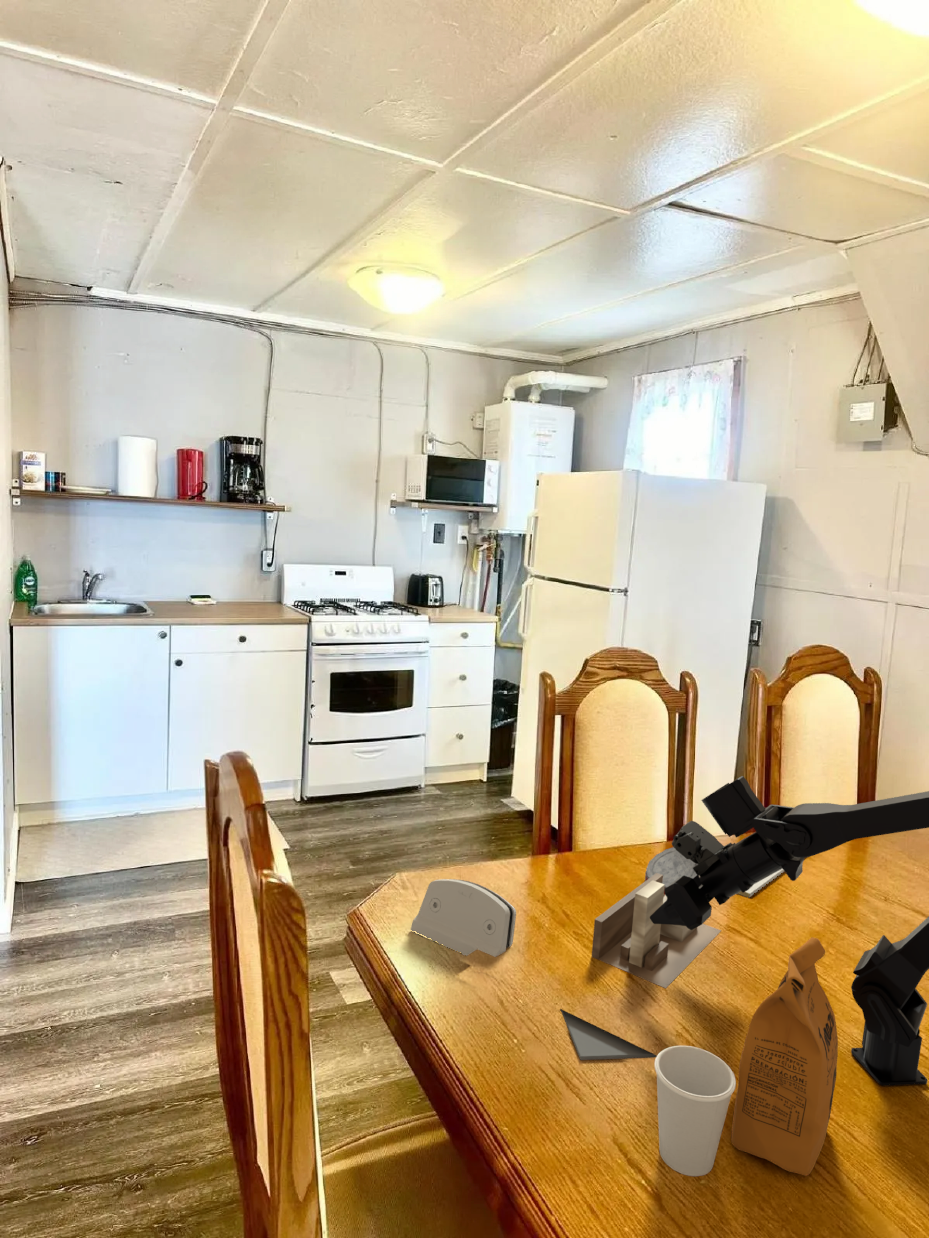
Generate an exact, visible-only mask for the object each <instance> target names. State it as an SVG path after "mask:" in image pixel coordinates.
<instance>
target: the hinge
mask: <svg viewBox="0 0 929 1238" xmlns="http://www.w3.org/2000/svg"><path fill="white" fill-rule="evenodd" d="M516 917H517V910H516V908H515V907H514V906H513V905H512V904H511V903H510V902H509V901H508V900H507V899H505V898H503V896H501V895H500V894H499V893H496V892H495V891H493V890H491V889H489V888H487V887H486V886H483V885H480V884H478V883H475V882H473V881H469V880H464V879H455V878H449V879H447V878H444V879H443V878H442V879H435V880H432V881H430V883H429V884H428V886H427V889H426V892H425V894H424V897H423V900H422V902H421V905H420V907H419V910H418V914H417V915H416V916H415V917H414V918H413V920H412V922H411V925H410V926H411V927H410V930H412V931H416V932H417V933H419V934H422V935H424V936H426V937H427V938H431V939H432V940H433V941H437V942H438V943H439V944H438V945H440V944H443V945H444V946H446V947H445V948H447V947H448V948H447V949H449V948H451V949H453V950H455V951H454V952H456V951H458V952H461V953H462V954H461V955H463V956H465V955H466V956H465V957H468V956H469V955H471V954H472V953H474V952H475V951H477V950H478V951H480V952H482V953H485V954H488V955H490V956H492V957H494V958H496V957H498V956H500V955H502V954H504V953H505V952H506V950H507V949H508V948H511V946H512V945H513V943H514V936H515V927H516ZM433 941H432V942H433ZM444 946H443V947H444ZM451 949H450V950H451ZM453 950H452V951H453ZM458 952H457V953H458Z"/></svg>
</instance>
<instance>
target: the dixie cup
mask: <svg viewBox="0 0 929 1238" xmlns="http://www.w3.org/2000/svg"><path fill="white" fill-rule="evenodd" d="M656 1055H657V1057H655V1059H654V1071H655V1073H656V1089H657V1093H656V1094H657V1119H658V1146H659V1147H658V1149H659V1155H660V1157H661V1159H662V1160H663V1161H664V1163H665V1164H666V1165H667V1166H668V1167H670V1168H671V1169H672V1170H673V1171H676V1172H677V1173H679V1174H682V1175H685V1176H687V1177H699V1176H705V1175H707V1174H709V1173H710V1172H711V1171H712V1169H713V1167H714V1163H715V1159H716V1156H717V1152H718V1148H719V1143H720V1140H721V1136H722V1134H723V1133H722V1132H723V1129H724V1126H725V1125H724V1124H725V1121H726V1117H727V1114H728V1108H729V1105H730V1102H731V1097H732V1094H733V1093H734V1091H736V1085H737V1082H736V1076H735V1073H734V1071H732V1069H731V1066H729V1065H728V1064H727V1063H726V1062H725V1061H724V1060H723V1059H722V1058H720V1057H719V1056H717V1055H715V1054H714V1053H712V1052H710V1051H708V1050H705V1049H703V1048H700V1047H696V1046H691V1045H673V1046H669V1047H667V1048H664V1049H662V1050H661V1051H660V1052H659V1053H658V1054H656Z"/></svg>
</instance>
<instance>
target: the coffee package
mask: <svg viewBox="0 0 929 1238" xmlns="http://www.w3.org/2000/svg"><path fill="white" fill-rule="evenodd" d="M825 954H826V949H825V948H824V946H823V944H822V943H821V940H820V939H819V938H817V937H811V938H809V939H808V940H807V941H806V942H805V943H803V944H802V945H801V946H800V947H798V948H797V949H795V950H794V951H793V952H792V953H790V954H789V955H788V961H787V962H788V963H787V964H788V965H787V970H786V972H785V974H784V976H783V977H782V979H781V981H780V983H778V984H779V985H778V987H777V989H776V990H775V991H774V992H772V993H771V994H770V995H769V996H767V997H766V998H765V999H763V1001H762V1002H760V1004H759V1006H758V1007H757V1009H756V1010H755V1011H754V1013H753V1015H752V1017H751V1020H750V1023H749V1026H748V1030H747V1034H746V1036H745V1040H744V1044H743V1048H742V1052H741V1055H740V1061H739V1066H738V1082H737V1084H738V1085H737V1090H736V1096H735V1103H734V1110H733V1118H732V1125H731V1144H732V1145H733V1147H735V1148H736V1149H737V1150H739V1151H741V1152H745V1153H748V1154H749V1155H752V1156H755V1157H758V1158H761V1159H765V1160H767V1161H769V1162H770V1163H773V1164H774V1165H776V1166H778V1167H779V1168H781V1169H783V1170H785V1171H787V1172H790V1173H796V1174H798V1175H802V1176H806V1177H807V1176H808V1175H810V1174H811V1172H813V1169H814V1166H815V1165H816V1163H817V1161H818V1158H819V1156H820V1153H821V1151H822V1148H823V1146H824V1144H825V1140H826V1136H827V1132H828V1128H829V1123H830V1119H831V1111H832V1108H833V1107H832V1106H833V1100H834V1099H833V1098H834V1092H835V1088H836V1087H835V1086H836V1081H837V1069H838V1067H837V1066H838V1065H837V1064H838V1052H839V1051H838V1047H839V1043H838V1042H839V1040H838V1039H839V1038H838V1037H839V1036H838V1031H837V1030H838V1029H837V1023H836V1016H835V1013H834V1010H833V1007H832V1005H831V1003H830V1001H829V998H828V996H827V994H826V993H825V991H824V989H823V987H822V985H821V984H820V982H819V977H818V971H817V968H816V963H817V962H818V961H820V960H821V959H822V958H823V957H824V955H825Z"/></svg>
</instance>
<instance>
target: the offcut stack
mask: <svg viewBox="0 0 929 1238" xmlns="http://www.w3.org/2000/svg"><path fill="white" fill-rule="evenodd" d="M666 900H667V897H666V895H665V894H664V897H663V903H664V902H665V901H666ZM696 928H697V927H696ZM696 928H695V929H696ZM695 929H693V930H690V929H688V928H687V927H686V926H681V925H669V924H661V928H660V934H662V935H664V936H667V937H669V938H672V939H674V940H677V941H680V942H682V941H683V940H685V939H686V938H687V937H688V936H689V935H690V934H691V933H692V932H693V931H694V930H695Z"/></svg>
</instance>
